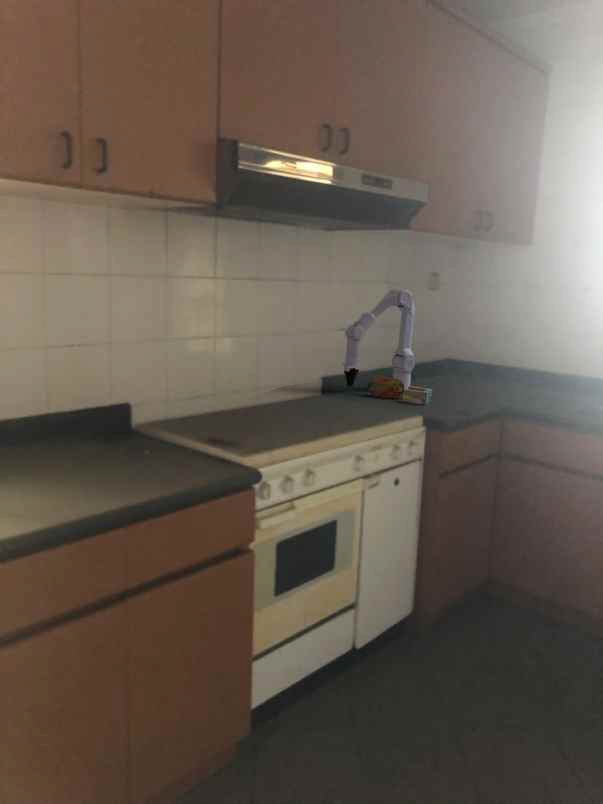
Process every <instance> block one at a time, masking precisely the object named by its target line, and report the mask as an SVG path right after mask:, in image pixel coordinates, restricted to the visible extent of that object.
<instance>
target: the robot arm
mask: <svg viewBox="0 0 603 804" xmlns="http://www.w3.org/2000/svg"><path fill="white" fill-rule="evenodd" d="M413 298H414V295H413V294H412V293H411V292H410V291H409V290H407V289H397V288H392V289H391V290H389V291H388V292H387V293H385V296H384V297H383V298H382V300H380V302H379V303H377V304H376V306H375V307H374V308H373V309H372V310H371V311H370V312H368V311H367V312H365V313H362V314H361V317H359V318H358V320H356V321H354V322H353V324H351V325H348V326H347V328H346V330H345V331H344V333H345V336H346V351H345V362H344V363H342V364H341V365H342V366H344V367H343V373H344V376H345V380H346V382H345V383H346V386H347V387H351V388H353V387H354V383H355V380H356V378H357V375H358V373H359V371H360V369H358V368H360V356H361V355H360V354H361V353H360V352H361V343H362V339H363V338H364V336H365V334H366V332H367V331H368V330H370V328H371V327H372V326H374V324H375V323H376V322H377V321H376V319H377V318H378V317H379V316H381V314H382V315H383V313H384V312H385V311H387V309H389V308H391V307H397V308H398V309H399V311H400V312H401V315H400V325H399V335H398V345H397V348H396V349H395V351H394V354H393V357H392V358H391V365H392V367H393V374H392V375H393V376H392V378H397V379H399V380H401V381H402V382H403V384H404V389H408V387H409V386H411V379H412V375H411V373H412V371H413V370H414V368H415V364H416V363H415V358H414V357H415V355H414V353H413V351H412V342H413V332H414V324H415V322H414V321H415V314H416V307H415V304H414V299H413ZM403 393H404V392H403Z"/></svg>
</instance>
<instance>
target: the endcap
mask: <svg viewBox="0 0 603 804" xmlns="http://www.w3.org/2000/svg"><path fill="white" fill-rule="evenodd" d="M432 394H433V389H432V388H425V387H418V386H411V385H410V386H409V387H408V389H404V393H403V394H402V403H407V402H408V404H413V405H414V404H415V405H416V404H417V405H422V406H427V405H428V404H430V403H431V402H432Z"/></svg>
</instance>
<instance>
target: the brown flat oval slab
mask: <svg viewBox="0 0 603 804" xmlns="http://www.w3.org/2000/svg"><path fill="white" fill-rule="evenodd" d="M367 391H368V392H369V394H370V395H371V396H373V397H375V396H378V397H377V398H384V397H385V399H392V398H394V399H393V400H395V399H399V398H400V397H402V396H403V392H404V384H403V382H402V381H401V380H399V379H397V378H393V377H386V376H374V377H372V378H371V379H370V380H368V383H367Z"/></svg>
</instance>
